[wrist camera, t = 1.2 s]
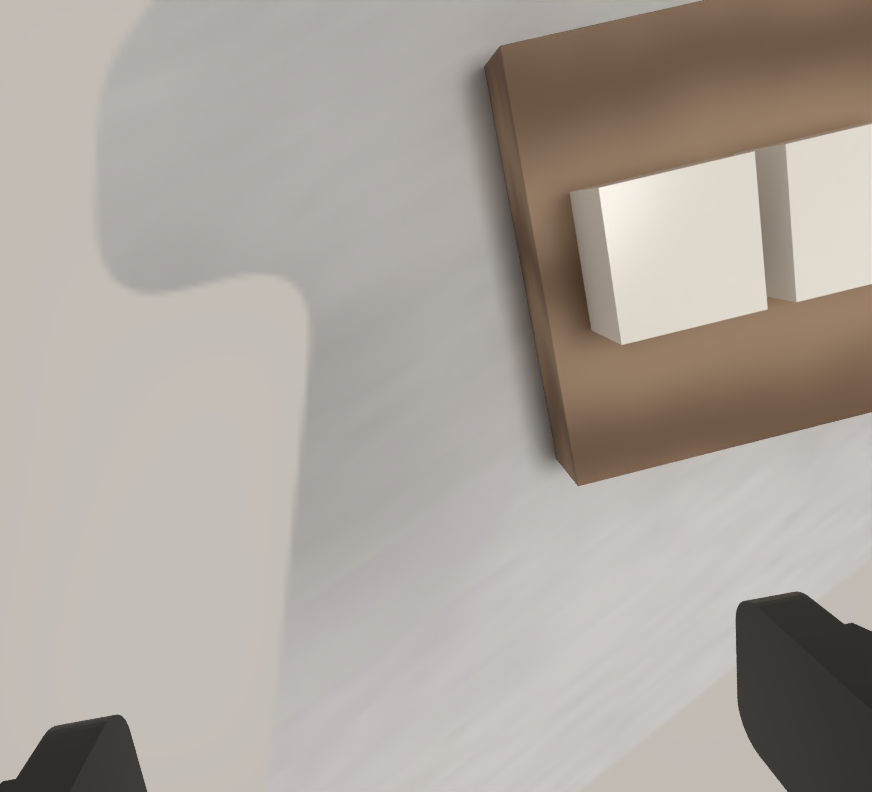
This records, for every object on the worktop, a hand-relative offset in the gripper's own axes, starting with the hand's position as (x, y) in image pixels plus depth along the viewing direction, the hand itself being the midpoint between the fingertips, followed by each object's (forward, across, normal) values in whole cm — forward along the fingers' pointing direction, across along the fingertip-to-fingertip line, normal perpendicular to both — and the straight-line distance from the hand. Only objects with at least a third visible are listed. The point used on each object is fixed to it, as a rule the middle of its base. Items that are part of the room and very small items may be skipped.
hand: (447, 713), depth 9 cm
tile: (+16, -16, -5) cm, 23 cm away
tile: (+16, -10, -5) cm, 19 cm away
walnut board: (+19, -14, -5) cm, 24 cm away
